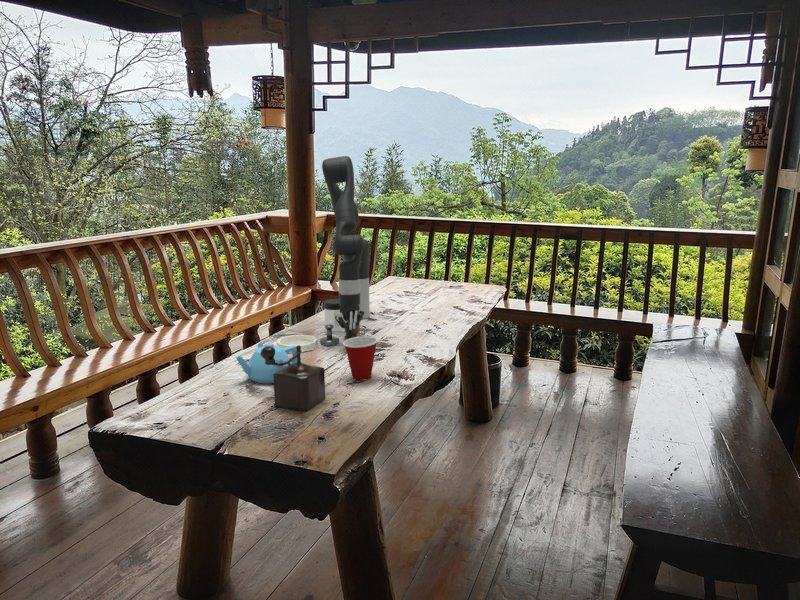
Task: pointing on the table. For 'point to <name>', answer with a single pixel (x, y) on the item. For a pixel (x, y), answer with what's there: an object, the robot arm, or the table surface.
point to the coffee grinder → (296, 382)
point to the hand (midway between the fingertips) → (350, 338)
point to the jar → (332, 314)
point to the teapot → (258, 367)
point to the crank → (343, 333)
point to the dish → (298, 342)
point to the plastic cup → (361, 356)
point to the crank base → (329, 337)
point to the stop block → (355, 330)
